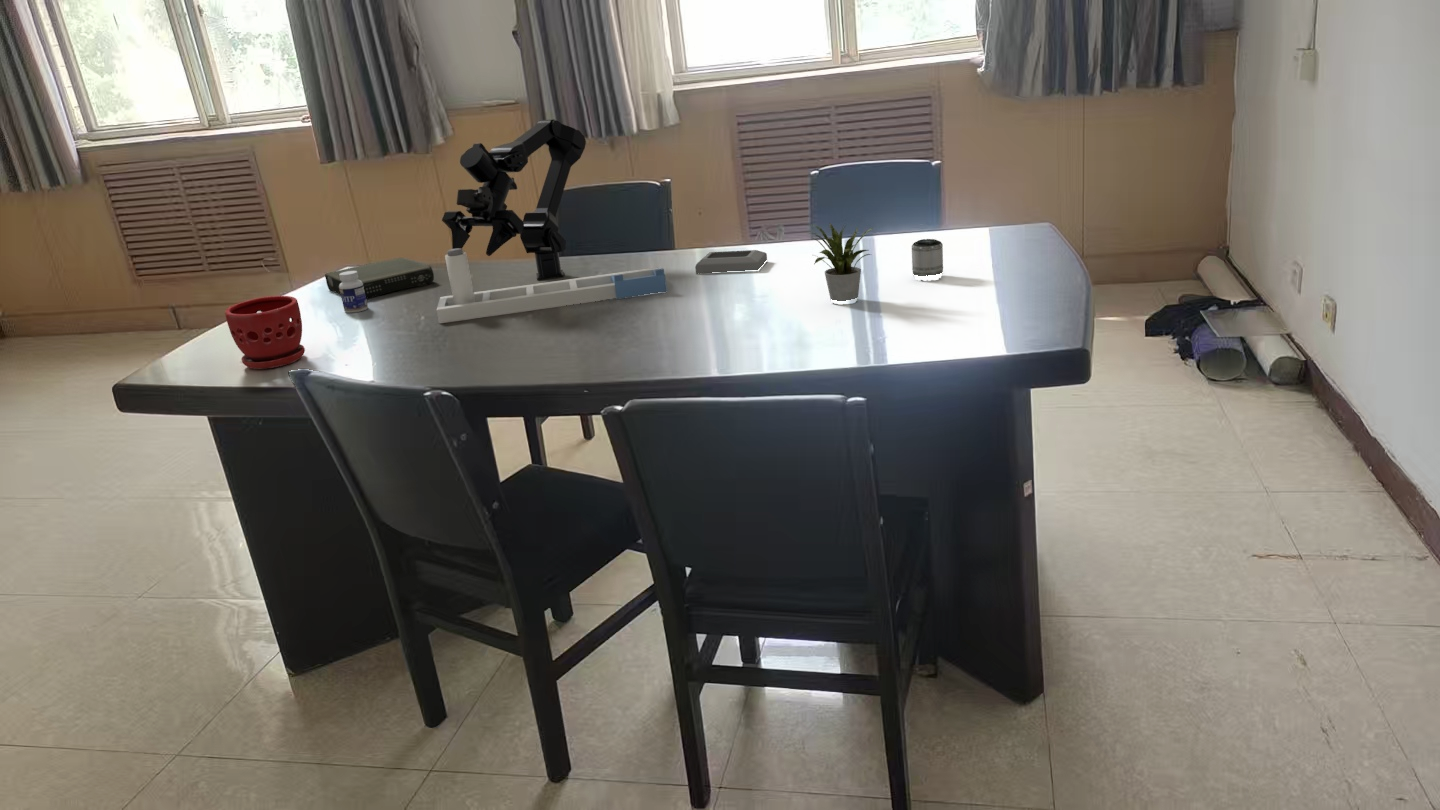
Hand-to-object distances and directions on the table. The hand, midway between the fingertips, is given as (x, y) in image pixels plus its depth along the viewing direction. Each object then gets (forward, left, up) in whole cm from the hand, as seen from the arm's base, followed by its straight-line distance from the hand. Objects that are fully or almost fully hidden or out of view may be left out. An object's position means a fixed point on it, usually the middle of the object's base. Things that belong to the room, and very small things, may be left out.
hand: (470, 254), depth 221 cm
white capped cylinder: (+4, -3, -12) cm, 13 cm away
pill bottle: (-14, -29, -12) cm, 34 cm away
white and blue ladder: (+4, +16, -12) cm, 20 cm away
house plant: (+38, +71, -12) cm, 82 cm away
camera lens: (+30, +93, -12) cm, 99 cm away
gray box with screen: (-4, +58, -12) cm, 60 cm away
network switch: (-37, -26, -12) cm, 47 cm away
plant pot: (+23, -39, -12) cm, 47 cm away
